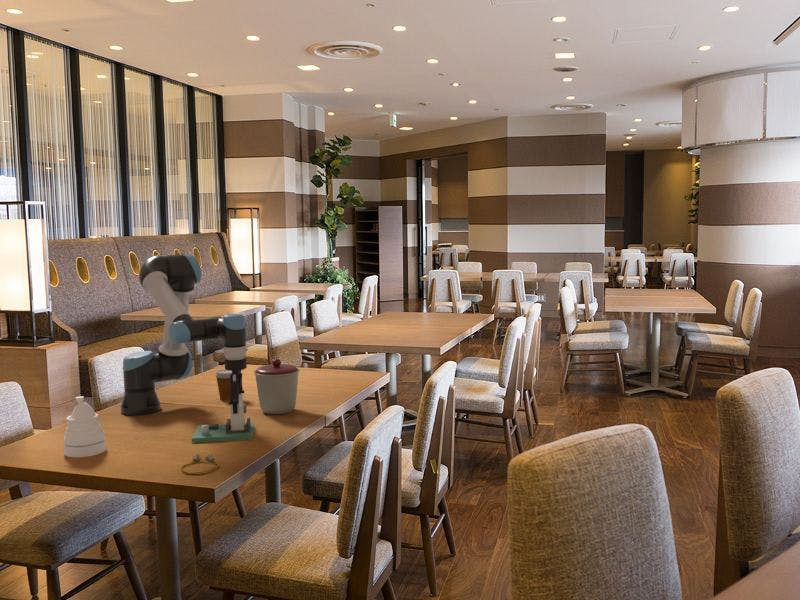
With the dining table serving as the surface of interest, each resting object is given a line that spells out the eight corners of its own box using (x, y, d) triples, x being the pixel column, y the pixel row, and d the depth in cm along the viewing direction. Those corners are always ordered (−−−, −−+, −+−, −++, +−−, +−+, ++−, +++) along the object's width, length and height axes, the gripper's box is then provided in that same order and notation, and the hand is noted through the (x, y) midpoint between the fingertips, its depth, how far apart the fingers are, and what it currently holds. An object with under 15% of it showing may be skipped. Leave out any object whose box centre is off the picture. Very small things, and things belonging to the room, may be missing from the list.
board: (191, 442, 252) (191, 429, 252) (198, 429, 268) (197, 417, 268) (251, 439, 255) (250, 426, 254) (254, 426, 271) (253, 414, 270)
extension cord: (231, 460, 234) (231, 454, 234) (206, 477, 219) (206, 471, 218) (197, 458, 237) (197, 452, 237) (170, 474, 222) (170, 468, 222)
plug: (231, 431, 259) (230, 406, 258) (232, 427, 264) (231, 403, 263) (246, 430, 260) (245, 405, 259) (247, 427, 265) (246, 402, 264)
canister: (274, 403, 305) (272, 353, 302) (310, 408, 296) (308, 356, 294) (245, 414, 289) (243, 361, 286) (282, 419, 280) (280, 364, 278)
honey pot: (58, 451, 245) (54, 398, 243) (96, 443, 254) (93, 391, 252) (73, 460, 236) (69, 405, 234) (112, 450, 245) (109, 397, 243)
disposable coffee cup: (226, 402, 308) (225, 374, 306) (211, 399, 313) (210, 372, 312) (243, 398, 315) (242, 370, 314) (229, 395, 321) (228, 368, 319)
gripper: (243, 364, 247) (245, 426, 250) (248, 351, 272) (250, 407, 274) (220, 365, 246) (223, 427, 249) (228, 351, 271) (230, 408, 273)
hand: (237, 417), depth 262 cm, fingers open, 13 cm apart
